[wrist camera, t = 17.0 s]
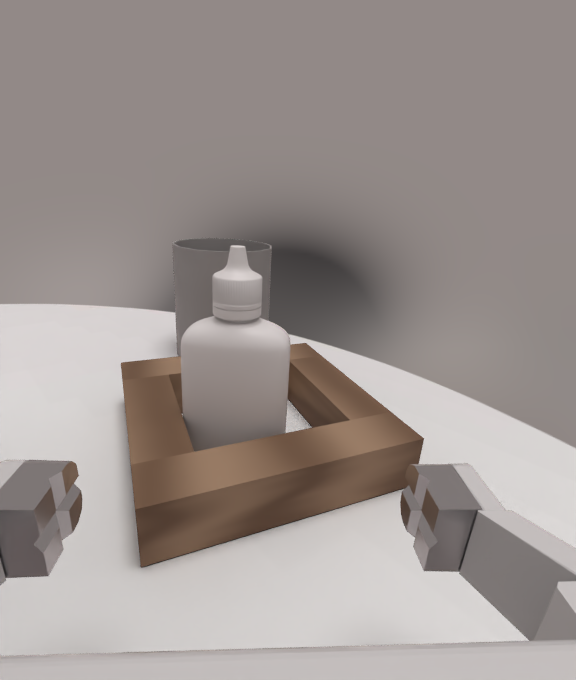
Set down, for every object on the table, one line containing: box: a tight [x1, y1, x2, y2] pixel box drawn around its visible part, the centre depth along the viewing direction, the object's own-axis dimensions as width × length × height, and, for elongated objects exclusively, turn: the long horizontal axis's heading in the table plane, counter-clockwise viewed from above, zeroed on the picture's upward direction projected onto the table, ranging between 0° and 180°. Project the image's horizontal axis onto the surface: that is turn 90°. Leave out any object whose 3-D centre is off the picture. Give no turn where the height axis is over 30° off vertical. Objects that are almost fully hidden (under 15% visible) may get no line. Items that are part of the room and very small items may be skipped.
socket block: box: [121, 343, 424, 567], centre depth 24 cm, size 14×14×3 cm
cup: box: [172, 238, 272, 357], centre depth 36 cm, size 8×8×10 cm
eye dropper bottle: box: [181, 245, 290, 452], centre depth 21 cm, size 4×6×12 cm
